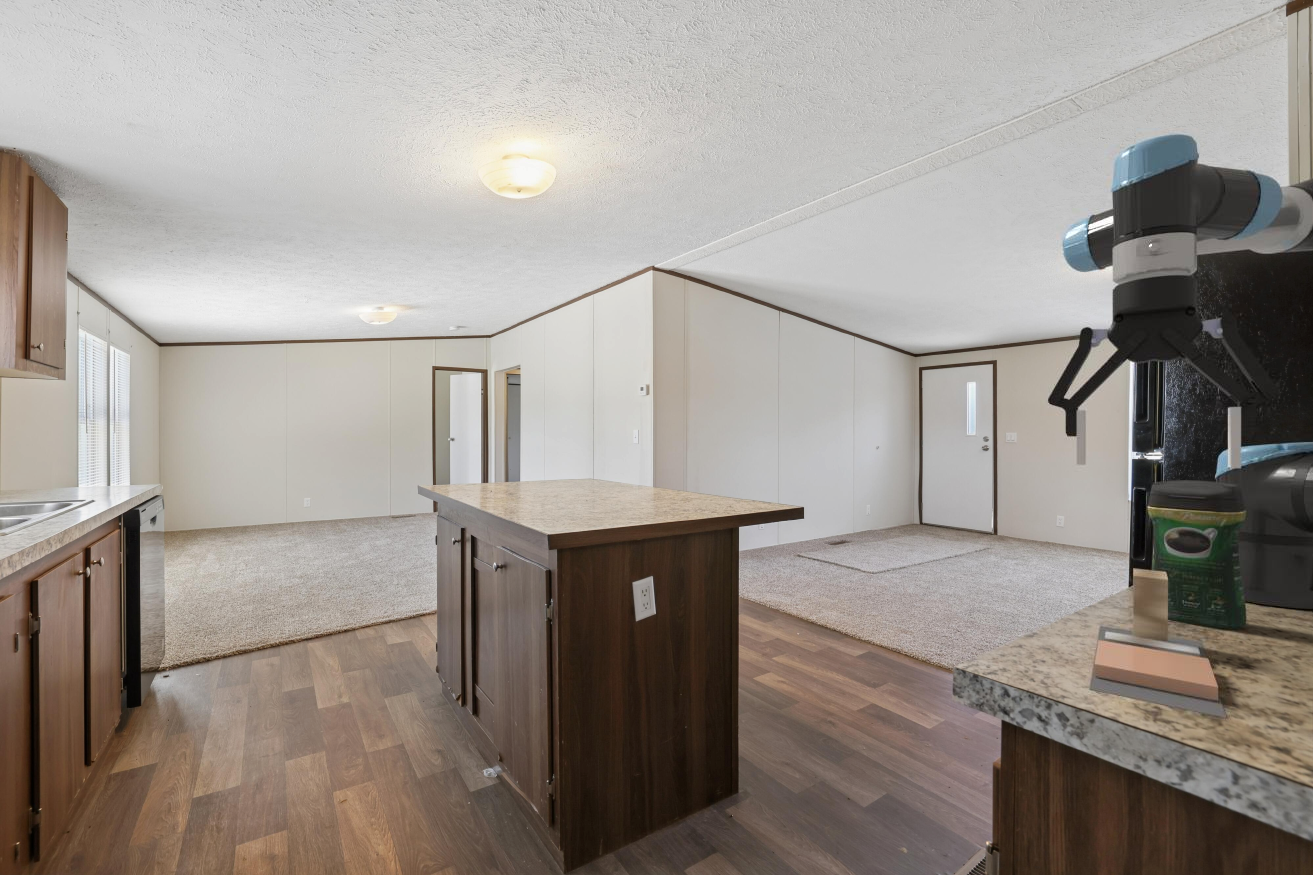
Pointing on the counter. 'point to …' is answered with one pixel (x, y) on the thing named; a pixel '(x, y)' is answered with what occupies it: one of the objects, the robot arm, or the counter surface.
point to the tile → (1156, 669)
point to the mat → (1153, 694)
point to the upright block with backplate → (1151, 615)
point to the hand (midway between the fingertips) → (1153, 466)
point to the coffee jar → (1199, 550)
